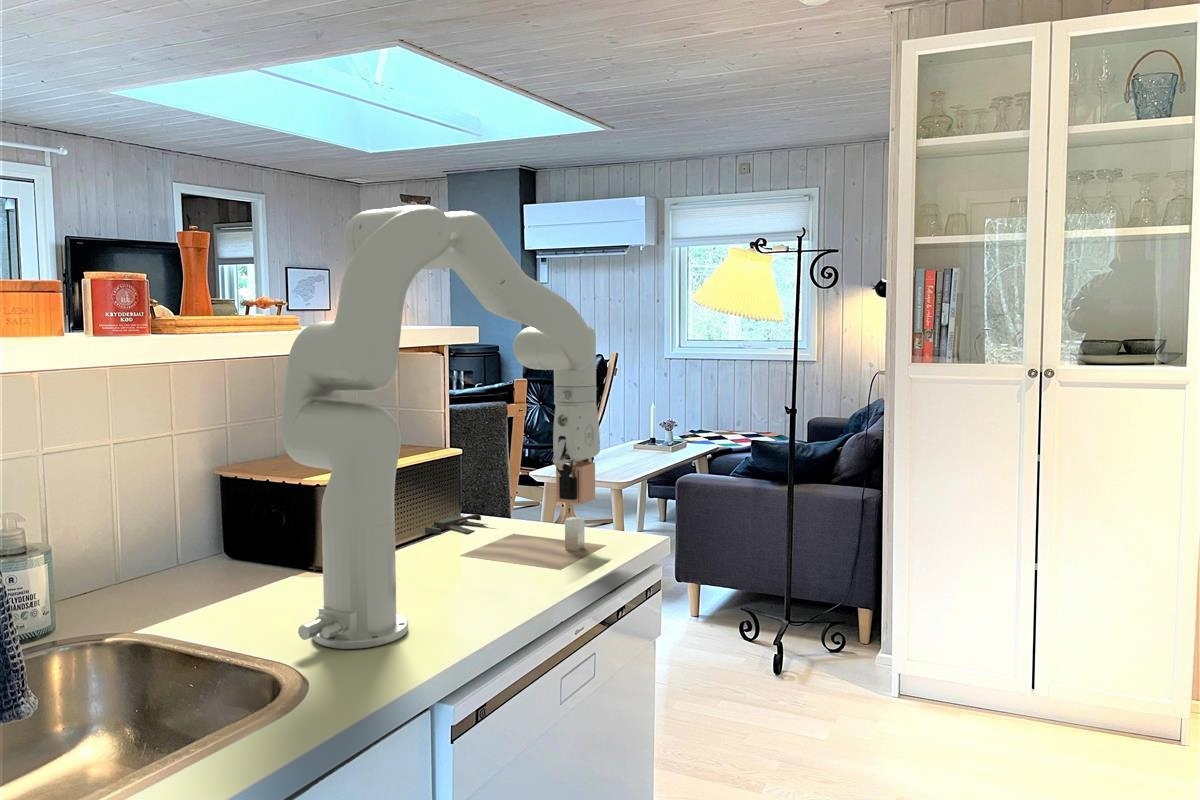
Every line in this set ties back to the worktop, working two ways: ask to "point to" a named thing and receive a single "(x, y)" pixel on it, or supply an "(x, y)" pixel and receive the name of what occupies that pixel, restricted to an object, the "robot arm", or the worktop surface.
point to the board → (532, 551)
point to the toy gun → (455, 521)
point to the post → (574, 534)
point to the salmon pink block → (580, 483)
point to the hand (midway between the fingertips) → (576, 494)
